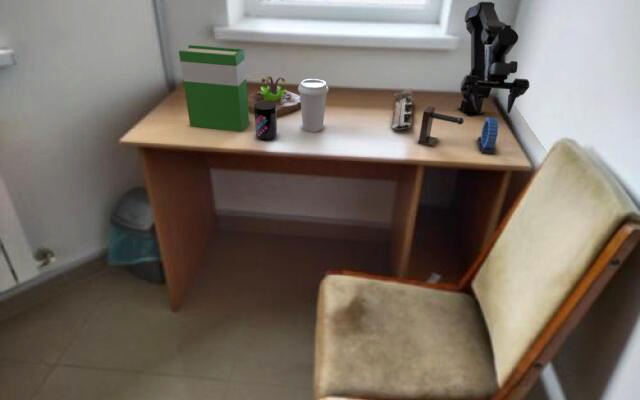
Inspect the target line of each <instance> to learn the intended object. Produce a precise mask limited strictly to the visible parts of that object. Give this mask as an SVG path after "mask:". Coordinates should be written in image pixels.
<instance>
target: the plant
mask: <svg viewBox="0 0 640 400" xmlns="http://www.w3.org/2000/svg"><path fill="white" fill-rule="evenodd" d="M280 80H281V82H282V83H286V79H285V78H284V77H281V76H280V77H278V78H277V79H276V80H275V82H274V79H273V77H272V76H270V75H268V76H266V77H265V78H262V79H261V80H260V82H261V83H262V84H264V83H265V82H266V83H267V86H266V87H265V86H260V91H255V92H253V93H251V94H249V95H247V97H248V111H249V113H252V114H254V104H255V103H257V102H262V101H269V102H273V103H275V104H276V117H281V116H283V115H287V114H289V113H291V112H293V111H298V109H300V108H301V101H300V94H298V93H297V94H296V93H293V92H292V91H288V90H287V89H285V88H284V89H281V88H282V87H281V86H280V85H278V83H279V81H280Z"/></svg>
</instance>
